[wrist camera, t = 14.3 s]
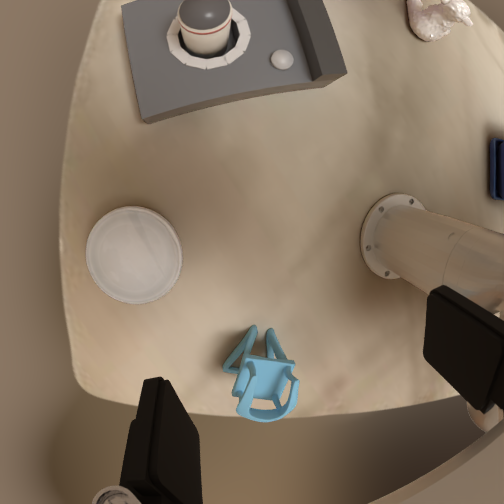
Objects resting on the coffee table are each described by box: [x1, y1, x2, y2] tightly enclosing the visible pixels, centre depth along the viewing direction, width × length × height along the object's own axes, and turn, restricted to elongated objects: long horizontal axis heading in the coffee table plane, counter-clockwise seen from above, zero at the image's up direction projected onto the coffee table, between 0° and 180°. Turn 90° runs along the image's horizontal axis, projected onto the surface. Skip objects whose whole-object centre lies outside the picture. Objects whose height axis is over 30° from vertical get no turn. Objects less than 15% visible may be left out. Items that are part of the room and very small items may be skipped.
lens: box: [177, 0, 232, 59], centre depth 24 cm, size 5×5×9 cm
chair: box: [223, 325, 299, 422], centre depth 36 cm, size 8×8×12 cm
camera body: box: [121, 0, 347, 124], centre depth 26 cm, size 22×16×7 cm
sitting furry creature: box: [406, 0, 473, 42], centre depth 25 cm, size 10×9×12 cm
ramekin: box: [86, 206, 183, 304], centre depth 33 cm, size 11×11×5 cm
